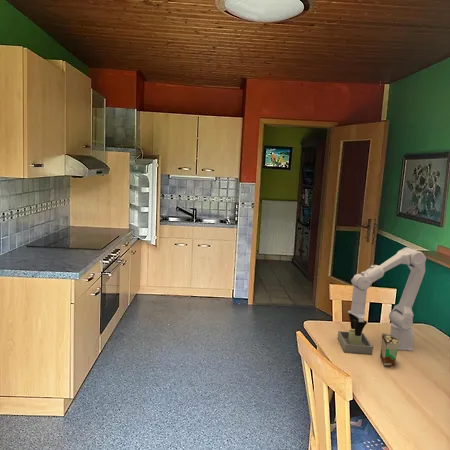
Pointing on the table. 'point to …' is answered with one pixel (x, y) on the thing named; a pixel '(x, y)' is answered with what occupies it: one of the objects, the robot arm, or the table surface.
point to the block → (354, 338)
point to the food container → (389, 350)
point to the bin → (356, 349)
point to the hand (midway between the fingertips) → (355, 332)
